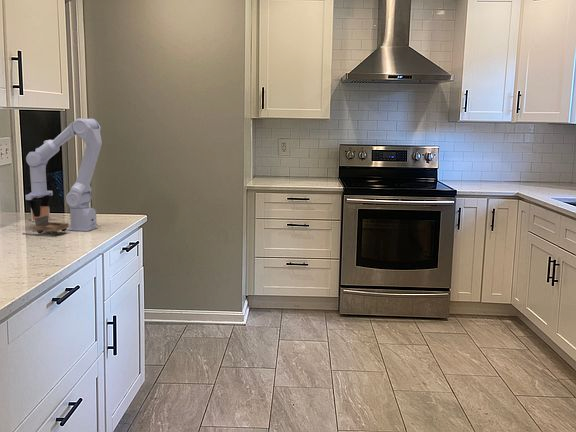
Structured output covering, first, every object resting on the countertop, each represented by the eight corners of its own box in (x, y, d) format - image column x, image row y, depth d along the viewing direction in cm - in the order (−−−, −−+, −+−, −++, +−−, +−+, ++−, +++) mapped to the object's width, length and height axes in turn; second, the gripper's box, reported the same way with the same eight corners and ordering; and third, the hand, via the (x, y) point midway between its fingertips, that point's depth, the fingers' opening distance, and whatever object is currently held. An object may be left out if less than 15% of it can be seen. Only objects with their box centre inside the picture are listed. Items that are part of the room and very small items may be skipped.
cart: (68, 231, 222) (67, 216, 221) (56, 235, 214) (55, 219, 213) (48, 229, 224) (47, 215, 223) (34, 233, 216) (34, 218, 215)
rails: (63, 232, 222) (63, 231, 222) (52, 236, 215) (52, 235, 215) (33, 230, 225) (33, 229, 225) (22, 234, 218) (21, 233, 218)
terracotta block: (49, 218, 234) (48, 206, 233) (42, 220, 229) (41, 207, 228) (39, 218, 234) (38, 205, 234) (32, 219, 230) (31, 207, 229)
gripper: (41, 179, 237) (43, 212, 239) (17, 183, 223) (20, 217, 225) (56, 180, 236) (58, 212, 238) (33, 184, 222) (36, 218, 224)
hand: (40, 215), depth 232 cm, fingers closed on terracotta block, 4 cm apart
